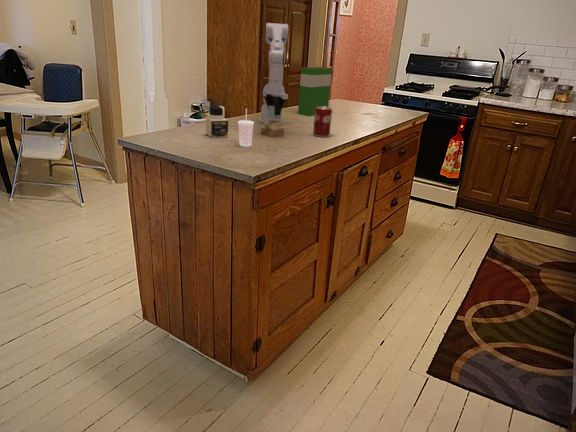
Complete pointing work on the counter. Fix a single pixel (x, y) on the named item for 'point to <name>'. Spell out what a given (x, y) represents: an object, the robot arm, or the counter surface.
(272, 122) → the maple cube
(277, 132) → the walnut slab
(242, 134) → the beverage cup
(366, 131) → the counter surface
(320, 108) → the soda can
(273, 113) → the teal block
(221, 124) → the medicine bottle
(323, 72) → the hardback book
